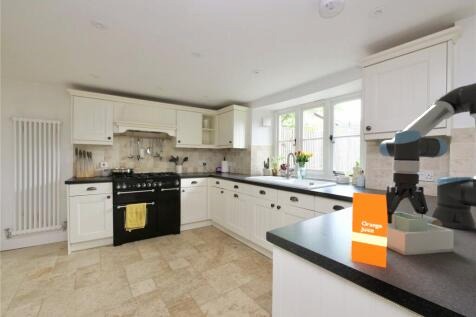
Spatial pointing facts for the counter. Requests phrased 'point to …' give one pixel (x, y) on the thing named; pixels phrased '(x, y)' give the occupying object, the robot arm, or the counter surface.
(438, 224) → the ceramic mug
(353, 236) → the orange juice
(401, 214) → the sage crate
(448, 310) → the counter surface
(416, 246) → the grey crate
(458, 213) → the robot arm
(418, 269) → the counter surface
